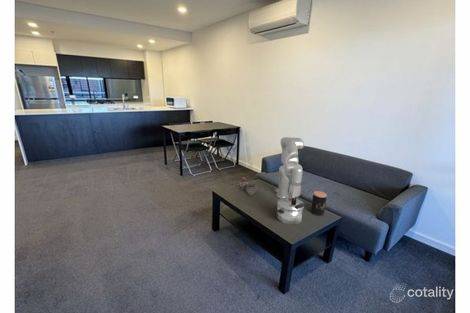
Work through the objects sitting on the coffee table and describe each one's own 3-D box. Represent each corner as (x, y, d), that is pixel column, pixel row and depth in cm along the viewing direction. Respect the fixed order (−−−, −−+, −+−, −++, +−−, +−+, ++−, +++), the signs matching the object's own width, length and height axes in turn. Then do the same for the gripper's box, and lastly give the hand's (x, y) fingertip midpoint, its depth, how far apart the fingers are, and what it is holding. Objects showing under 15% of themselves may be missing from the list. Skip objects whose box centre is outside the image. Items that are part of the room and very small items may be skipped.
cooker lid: (272, 203, 181) (272, 199, 180) (288, 196, 193) (289, 193, 192) (293, 213, 165) (293, 210, 164) (309, 205, 177) (310, 202, 176)
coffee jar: (314, 216, 186) (317, 197, 181) (308, 210, 196) (311, 191, 191) (326, 215, 188) (329, 196, 183) (319, 209, 198) (322, 190, 193)
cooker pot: (268, 216, 183) (269, 203, 180) (288, 208, 198) (290, 195, 195) (288, 229, 167) (290, 214, 164) (308, 218, 183) (310, 205, 179)
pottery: (245, 185, 243) (245, 175, 239) (259, 195, 222) (259, 184, 219) (236, 187, 237) (236, 177, 234) (249, 197, 216) (250, 186, 213)
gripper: (298, 179, 179) (295, 200, 184) (285, 183, 170) (283, 205, 175) (305, 182, 173) (303, 203, 178) (293, 186, 164) (291, 209, 169)
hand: (293, 204), depth 176 cm, fingers closed
